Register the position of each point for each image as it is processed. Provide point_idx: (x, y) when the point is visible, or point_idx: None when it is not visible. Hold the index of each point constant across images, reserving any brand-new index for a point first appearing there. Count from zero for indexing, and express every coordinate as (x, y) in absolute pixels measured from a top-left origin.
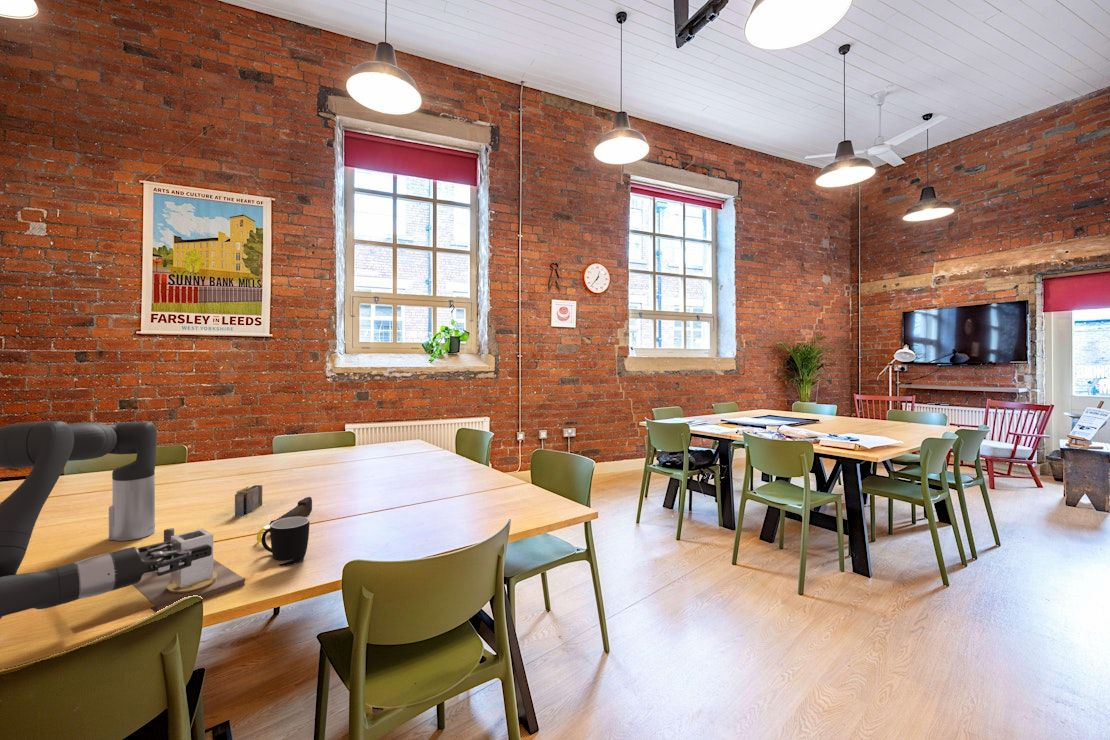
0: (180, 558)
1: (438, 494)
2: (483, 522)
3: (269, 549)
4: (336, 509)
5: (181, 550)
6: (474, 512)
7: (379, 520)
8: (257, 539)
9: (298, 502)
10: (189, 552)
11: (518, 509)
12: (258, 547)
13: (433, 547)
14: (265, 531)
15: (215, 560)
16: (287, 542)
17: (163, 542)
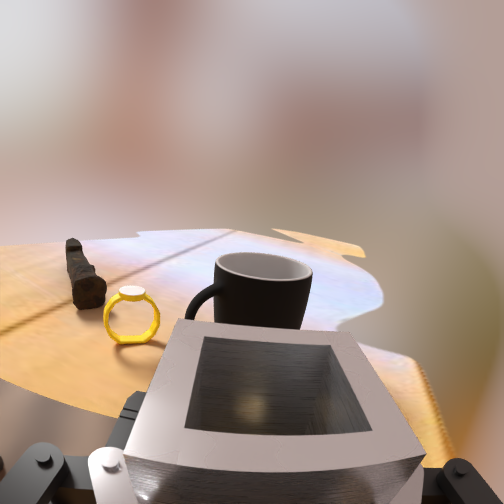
0: (493, 497)
1: (198, 235)
2: (323, 256)
3: None
4: (108, 258)
5: (395, 494)
6: (287, 248)
7: (210, 266)
8: (107, 326)
9: (68, 246)
10: (420, 466)
11: (312, 243)
12: (108, 344)
13: (363, 285)
14: (202, 299)
15: (100, 414)
16: (301, 315)
17: (14, 471)
